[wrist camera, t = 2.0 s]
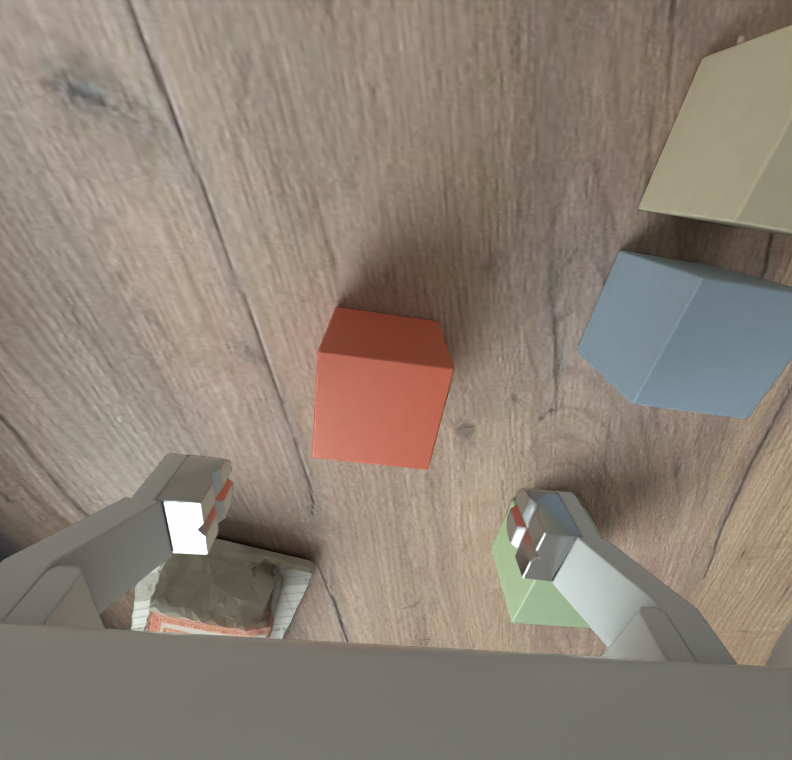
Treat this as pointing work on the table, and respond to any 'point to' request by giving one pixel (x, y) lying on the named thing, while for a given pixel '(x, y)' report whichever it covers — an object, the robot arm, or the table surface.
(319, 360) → the coral block
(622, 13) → the table surface
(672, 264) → the blue-grey block
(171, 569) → the packaged product
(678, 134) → the cream block
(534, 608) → the sage block
